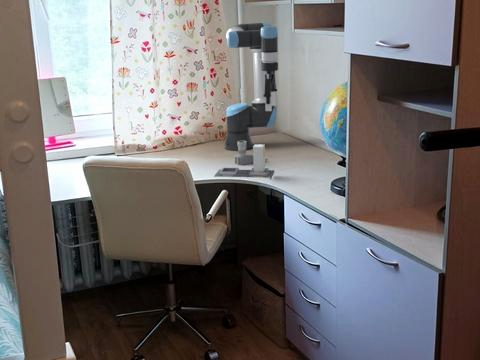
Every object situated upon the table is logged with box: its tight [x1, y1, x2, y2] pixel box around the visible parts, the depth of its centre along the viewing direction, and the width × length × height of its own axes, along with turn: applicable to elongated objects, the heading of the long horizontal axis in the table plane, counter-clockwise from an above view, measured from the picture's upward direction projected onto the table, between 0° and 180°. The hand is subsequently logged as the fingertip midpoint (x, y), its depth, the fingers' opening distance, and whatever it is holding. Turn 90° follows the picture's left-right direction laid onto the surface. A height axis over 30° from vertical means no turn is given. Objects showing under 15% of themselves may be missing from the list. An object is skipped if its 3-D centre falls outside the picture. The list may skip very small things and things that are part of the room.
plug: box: [252, 144, 266, 172], centre depth 289 cm, size 4×5×13 cm
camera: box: [234, 141, 268, 166], centre depth 310 cm, size 9×12×15 cm
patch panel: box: [213, 167, 275, 180], centre depth 292 cm, size 12×26×2 cm, turn 79°
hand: (270, 108), depth 294 cm, fingers open, 13 cm apart
